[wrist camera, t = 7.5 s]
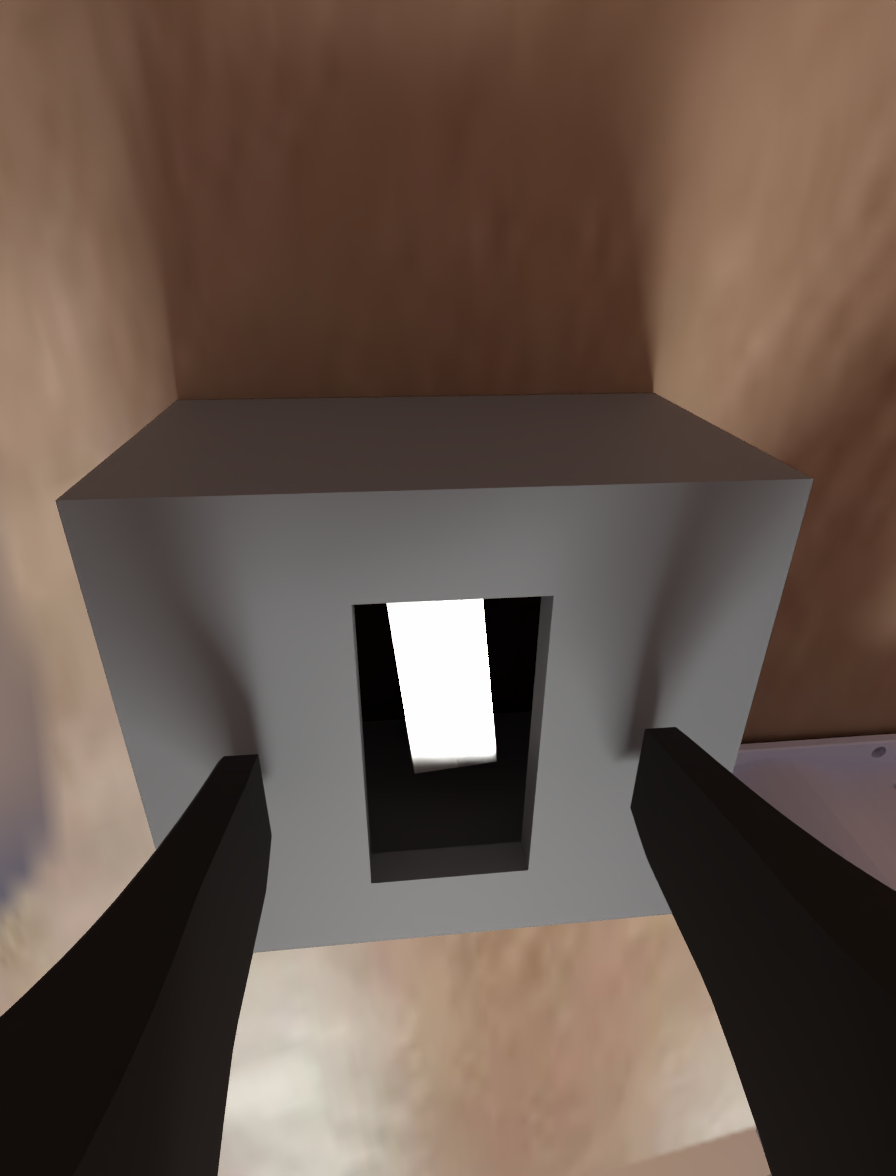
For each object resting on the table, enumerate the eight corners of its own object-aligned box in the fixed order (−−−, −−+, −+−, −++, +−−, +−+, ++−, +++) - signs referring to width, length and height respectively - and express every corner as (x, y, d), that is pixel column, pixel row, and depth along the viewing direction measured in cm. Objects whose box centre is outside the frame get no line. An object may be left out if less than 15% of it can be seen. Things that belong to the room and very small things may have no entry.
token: (453, 496, 18) (481, 579, 14) (469, 648, 20) (496, 760, 16) (381, 505, 18) (384, 592, 13) (405, 657, 20) (414, 773, 16)
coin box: (654, 392, 17) (813, 478, 11) (604, 725, 22) (693, 911, 16) (176, 400, 16) (55, 500, 10) (240, 749, 21) (187, 958, 15)
